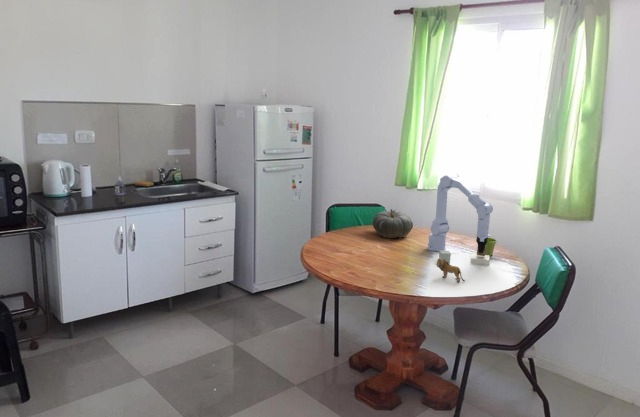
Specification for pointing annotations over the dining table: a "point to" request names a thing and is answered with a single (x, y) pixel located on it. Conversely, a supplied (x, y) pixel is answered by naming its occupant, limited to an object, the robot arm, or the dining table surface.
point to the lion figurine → (448, 268)
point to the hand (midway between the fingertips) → (480, 251)
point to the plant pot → (490, 246)
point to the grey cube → (445, 255)
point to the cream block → (480, 259)
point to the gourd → (392, 224)
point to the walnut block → (481, 253)
